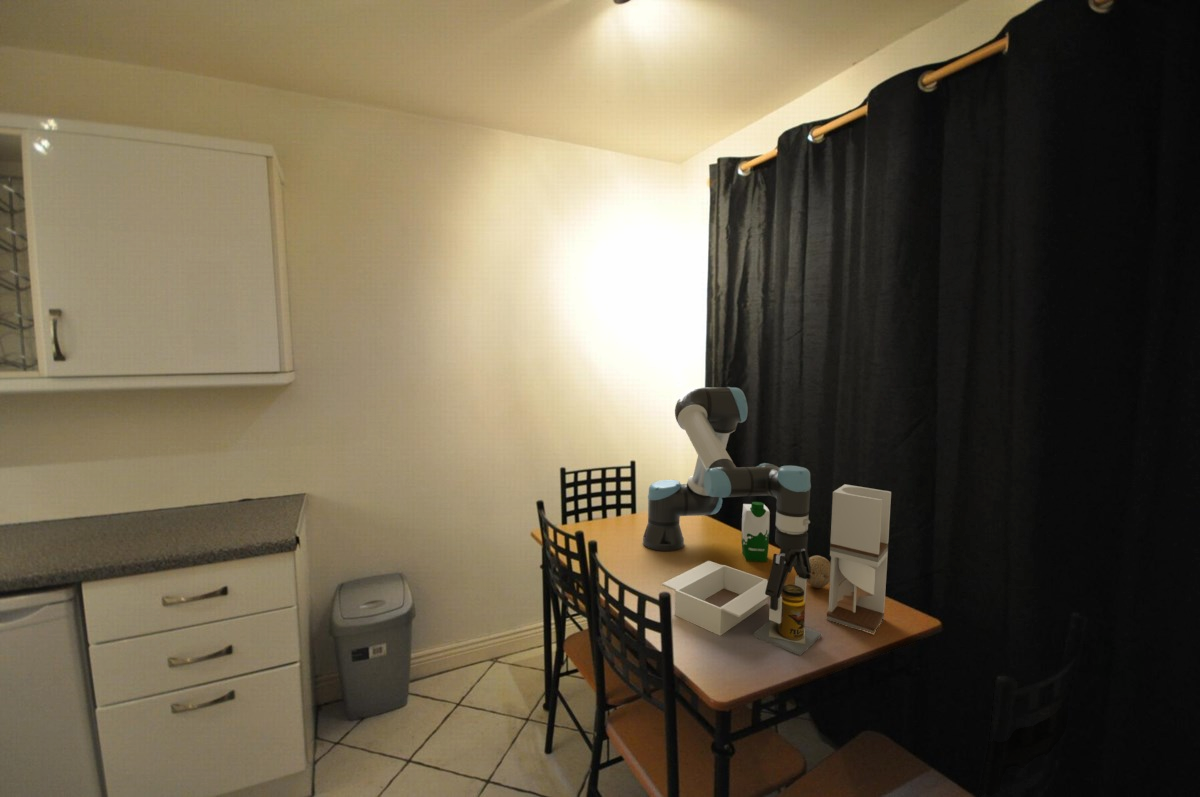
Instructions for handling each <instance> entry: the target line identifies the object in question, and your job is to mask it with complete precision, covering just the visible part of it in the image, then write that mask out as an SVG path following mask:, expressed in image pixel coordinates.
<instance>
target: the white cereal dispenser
mask: <svg viewBox="0 0 1200 797" xmlns="http://www.w3.org/2000/svg"><path fill="white" fill-rule="evenodd" d="M891 499H892V491H889V490H882V489H876V488H870V487H863V486H857V485H851V484H845V483H844V484H843V485H842V486H839V487H838V488H837V489H835V490H834V491H832V501H831V502H832V504H831V521H830V522H831V523H830V524H831V526H830V527H831V529H830V544H829V545H830V546H829V557H830V563H831V569H830V582H829V593H828V611H827V612H826V621H828V620H830V621H829V622H831V621H833V622H832V623H834V622H836V623H835V624H837V623H839V624H838V625H840V624H843V625H847V626H849V627H853V628H857V629H861V630H865V631H868V632H871V633H874V632H875V630H876V629H877V627H878V626H879V624H880V623H881V621H882V619H883V618H884V619H885V603H886V589H887V588H886V585H887V571H888V555H889V554H888V553H889V538H890V537H889V536H890V520H891V519H890V518H891V501H892V500H891ZM882 622H883V621H882ZM881 624H882V623H881ZM843 625H842V626H843ZM849 627H848V628H849ZM879 627H880V626H879ZM877 630H878V629H877Z"/></svg>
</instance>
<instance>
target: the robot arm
mask: <svg viewBox="0 0 1200 797" xmlns="http://www.w3.org/2000/svg"><path fill="white" fill-rule="evenodd" d="M748 408H749V407H748V402H747V398H746V396H745V393H744V391H743V390H742V389H740V388H739V387H730V386H726V387H721V386H720V387H715V386H714V387H710V386H709V387H705V386H704V387H700V386H699V387H693V388H690V389H687V390H686V391H685V392H684V393H682V394H681V396H680V397H679V398H678V400H677V401H676V404H675V408H674V416H675V420H676V423H677V424H678V426H679V427H680V428H681V430H684V431H685V433H686V435H687V437H688V439H689V441H690V442H691V445H692V446H693V449H694V450H695V452H696V454H697V459H696V462H695V468H694V471H693V474H692V475H690V476H689V477H688V479H687V482H686V483H683V484H681V482H680V481H679V480H677V479H661V480H657V481H654V482H653V483H651V484H650V485H649V488H648V493H647V494H648V495H647V501H648V503H647V504H648V505H647V506H648V507H647V512H648V513H647V525H646V528H645V531H644V533H643V537H642V545H644V546H645V547H646V548H648V549H650V550H654V551H659V552H660V551H661V552H672V551H679V550H681V549H682V548H684V544H685V538H684V536H683V532H682V529H681V524H680V520H681V519H680V518H681V517H692V516H693V517H694V516H695V517H696V516H699V517H700V516H711V515H716V514H717V513H719V511H720V509H721V508H722V506H723V505H722V504H723V498H735V497H738V498H739V497H757V496H758V497H759V496H760V497H761V496H770V497H772V498H774V499H776V512H775V527H776V528H775V533H774V534H775V536H774V541H775V542H774V543H775V544H776V545H778V547H779V548H780V551H779V554H778V553H773V556H772V563H771V568H770V572H769V575H768V579H767V581H768V583H767V587H766V591H765V594H766V595H768V596H770V597H769V612H768V616H769V617H768V619H769V621H770V620H771V621H774V622H776V623H779V624H780V623H781V613H782V597H781V593H782V590H783V587H784V585H786V580H787V578H788V575H789V574H790V573H791V572H792V571H793V569H794V571H795V573H796V576H795V577H794V585H796V586H799V587H801V588H802V589H803V590H804V600H805V604H806V599H807V583H808V582H807V579H810V578H811V575H810V573H811V567H810V562H809V558H810V557H809V553H808V542H809V541H808V540H809V533H808V532H807V531H808V530H809V524H811V521H810V519H809V514H810V513H809V512H810V502H811V501H810V499H811V488H812V485H811V484H812V483H811V472H810V470H809V469H808V468H806V467H803V466H798V465H783V466H780V467H778V466H777V465H775V464H772V463H768V462H767V463H766V462H763V463H760V464H758V465H756V466H741V467H737V466H736V464H735V463H734V462H733V460H732V457H731V456H730V455H729V453H728V451H727V450H726V449H727V444H728V442H729V438H730V435H731V434H732V433H733V432H734V433H735V431H736V429H737V426H738V423H740V424H741V423H744V422H745V421H746V420H747V418H748V412H749V411H748V410H749V409H748ZM805 567H806V568H805ZM808 573H809V574H808ZM806 578H807V579H806Z"/></svg>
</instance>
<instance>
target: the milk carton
mask: <svg viewBox="0 0 1200 797" xmlns="http://www.w3.org/2000/svg"><path fill="white" fill-rule="evenodd" d="M770 514H771V512H770V509H769V508H768V506H766V505H765V503H763V502H761V501H752V502H751V503H743V504H742V514H741V516H742V517H741V551H742V553H741V554H742V555H743V557H744V559H745V561H746V562H760V563H761V562H762V563H767V562H768V555H769V554H768V553H769V547H770V546H769V541H770Z"/></svg>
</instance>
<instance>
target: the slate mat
mask: <svg viewBox="0 0 1200 797" xmlns="http://www.w3.org/2000/svg"><path fill="white" fill-rule="evenodd" d="M770 622H774V621H771V620H769V621H768V622H766V623H764V624H763V625H762V626H761V627H759V628H758V629H757V630H756V631H754V632H753V637H756V638H757V639H760V640H762V641H764V642H767V643H769V644H771V645H774V646H776V647H778V648H781V649H783V650H785V649H786V651H788V652H790V651H791V652H790V653H792V652H793V653H792V654H795V653H796V654H795V655H797V654H799V655H801V654H802V653H803V652H804V651H805V650H806V649H807V648H808V647H809V648H810V647H812V645H814V644H815V643H816V642H817V641H818V640H819V639H820V638H821V637H822V633H821V632H819V631H816V630H814V629H811V628H809V627H805V626H804V629H805V644H802V643H797V642H792V641H787V640H783V639H778V638H773V637H769V629H770ZM774 623H776V622H774ZM777 635H778V634H777ZM820 636H821V637H820ZM819 637H820V638H819ZM818 638H819V639H818ZM817 639H818V640H817ZM816 640H817V641H816ZM815 641H816V642H815ZM814 642H815V643H814ZM809 648H808V649H809ZM808 649H807V650H808ZM807 650H806V651H807ZM806 651H805V652H806ZM805 652H804V653H805ZM804 653H803V654H804ZM799 655H798V656H799ZM801 656H802V655H801Z"/></svg>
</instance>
